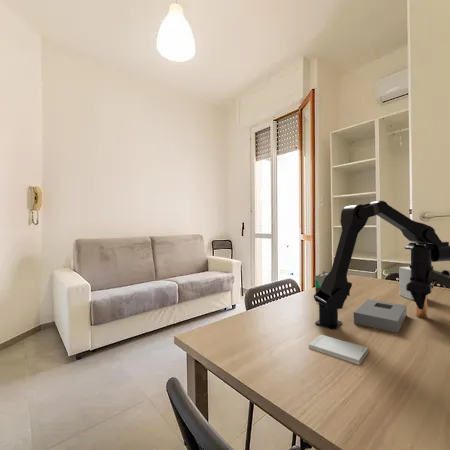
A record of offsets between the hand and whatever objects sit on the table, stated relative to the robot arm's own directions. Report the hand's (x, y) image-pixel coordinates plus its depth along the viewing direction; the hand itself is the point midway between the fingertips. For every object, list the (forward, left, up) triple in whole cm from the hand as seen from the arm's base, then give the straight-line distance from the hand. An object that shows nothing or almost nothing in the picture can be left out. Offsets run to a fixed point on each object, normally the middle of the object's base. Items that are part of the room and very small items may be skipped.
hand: (421, 307), depth 88 cm
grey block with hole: (-11, +10, -3) cm, 15 cm away
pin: (0, 0, -3) cm, 3 cm away
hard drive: (-41, +14, -4) cm, 43 cm away
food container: (+4, +34, -3) cm, 34 cm away
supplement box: (+25, +5, -3) cm, 26 cm away
